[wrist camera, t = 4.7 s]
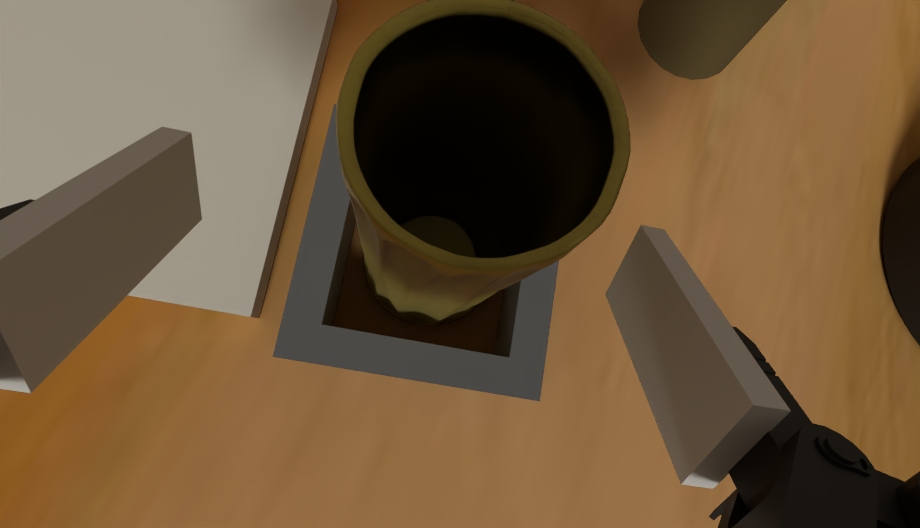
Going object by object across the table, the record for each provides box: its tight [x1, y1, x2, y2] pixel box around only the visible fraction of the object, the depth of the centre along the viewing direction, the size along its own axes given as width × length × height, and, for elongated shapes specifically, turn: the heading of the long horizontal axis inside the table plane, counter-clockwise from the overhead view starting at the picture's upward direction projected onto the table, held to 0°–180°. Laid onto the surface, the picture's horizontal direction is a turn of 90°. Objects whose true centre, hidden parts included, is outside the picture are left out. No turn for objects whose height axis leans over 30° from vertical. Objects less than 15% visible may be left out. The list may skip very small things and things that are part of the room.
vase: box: [336, 0, 630, 326], centre depth 15 cm, size 6×6×14 cm
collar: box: [273, 104, 559, 401], centre depth 20 cm, size 11×11×3 cm
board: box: [0, 0, 338, 318], centre depth 20 cm, size 16×16×1 cm
